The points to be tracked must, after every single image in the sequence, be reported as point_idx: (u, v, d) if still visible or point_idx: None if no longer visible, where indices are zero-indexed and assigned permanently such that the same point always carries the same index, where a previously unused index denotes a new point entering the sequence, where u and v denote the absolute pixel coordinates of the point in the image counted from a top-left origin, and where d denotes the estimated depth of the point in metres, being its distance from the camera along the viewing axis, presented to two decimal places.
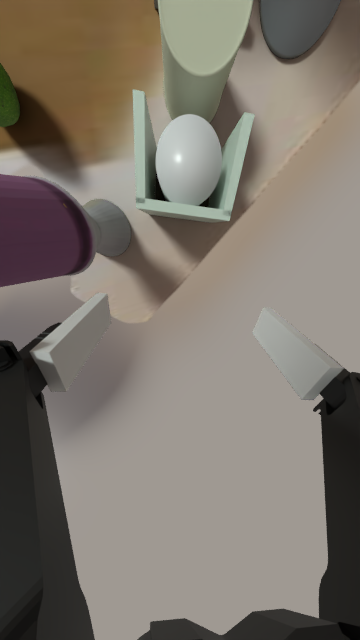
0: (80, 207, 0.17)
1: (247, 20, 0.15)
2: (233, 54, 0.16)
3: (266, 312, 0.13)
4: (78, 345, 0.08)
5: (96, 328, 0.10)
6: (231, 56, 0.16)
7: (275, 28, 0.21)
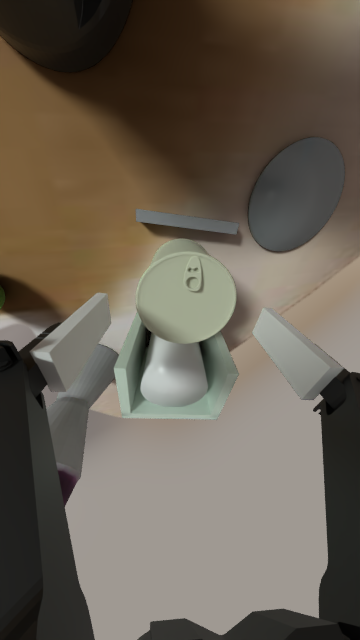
0: (62, 466, 0.17)
1: (229, 316, 0.15)
2: (216, 332, 0.16)
3: (266, 312, 0.13)
4: (78, 345, 0.08)
5: (96, 328, 0.10)
6: (214, 333, 0.16)
7: (264, 234, 0.21)
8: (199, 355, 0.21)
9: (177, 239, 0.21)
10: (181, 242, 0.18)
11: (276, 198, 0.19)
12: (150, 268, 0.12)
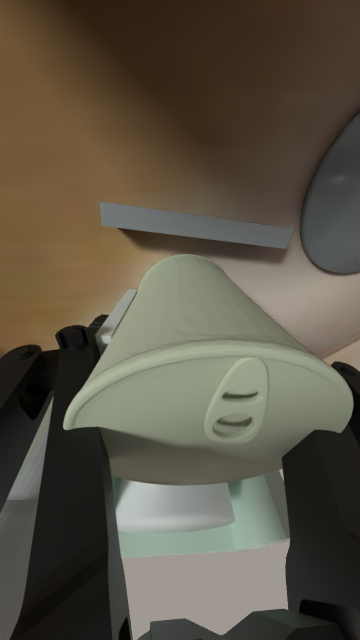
0: None
1: None
2: (269, 472, 0.07)
3: None
4: None
5: None
6: (263, 474, 0.07)
7: (325, 247, 0.12)
8: None
9: (179, 255, 0.12)
10: (187, 264, 0.10)
11: (359, 184, 0.10)
12: (91, 391, 0.03)
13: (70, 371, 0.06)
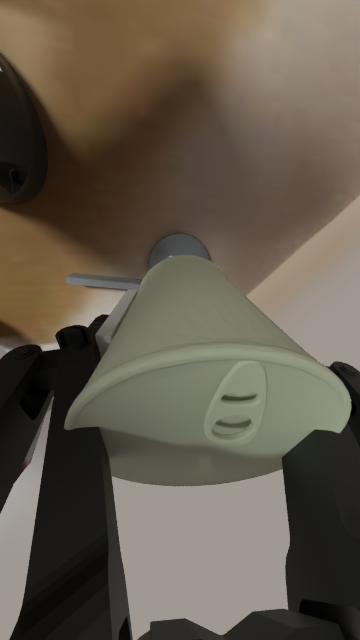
0: None
1: None
2: (268, 473, 0.07)
3: None
4: None
5: None
6: (263, 474, 0.07)
7: None
8: None
9: (179, 257, 0.12)
10: (187, 266, 0.10)
11: None
12: (92, 393, 0.03)
13: (70, 371, 0.06)
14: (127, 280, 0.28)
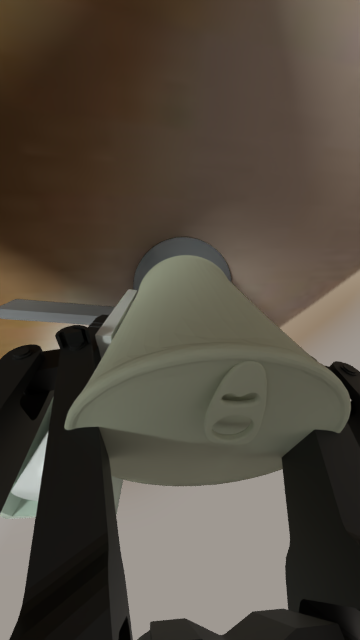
0: None
1: None
2: (268, 473, 0.07)
3: None
4: None
5: None
6: (262, 474, 0.07)
7: None
8: None
9: (179, 257, 0.12)
10: (187, 266, 0.10)
11: None
12: (92, 393, 0.03)
13: (70, 371, 0.06)
14: (100, 310, 0.18)
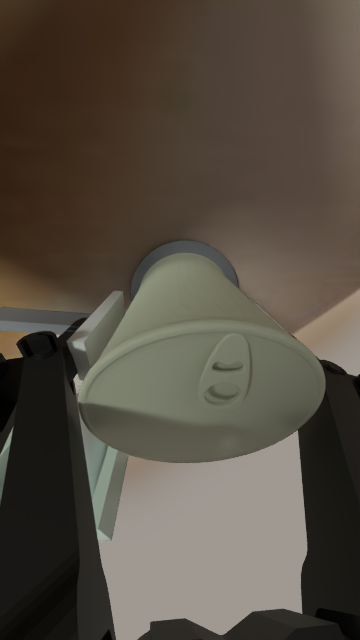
0: None
1: (293, 431, 0.07)
2: None
3: None
4: (102, 338, 0.09)
5: (115, 323, 0.11)
6: (254, 451, 0.08)
7: None
8: None
9: (178, 254, 0.13)
10: (186, 262, 0.10)
11: None
12: (104, 362, 0.04)
13: (36, 382, 0.05)
14: None
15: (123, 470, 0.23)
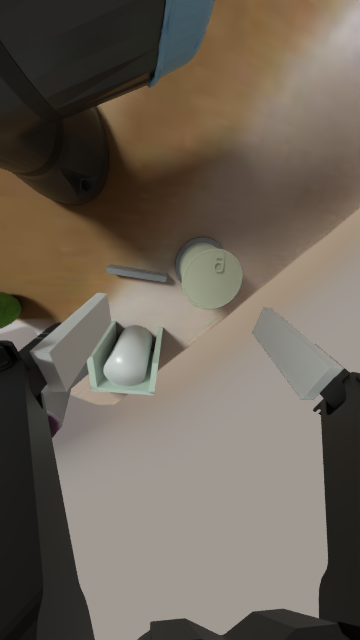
0: (51, 414, 0.29)
1: (237, 291, 0.24)
2: (228, 302, 0.24)
3: (266, 312, 0.13)
4: (78, 345, 0.08)
5: (96, 328, 0.10)
6: (227, 302, 0.25)
7: None
8: (144, 353, 0.34)
9: (201, 243, 0.30)
10: (206, 245, 0.27)
11: None
12: (195, 257, 0.21)
13: None
14: (156, 273, 0.33)
15: None
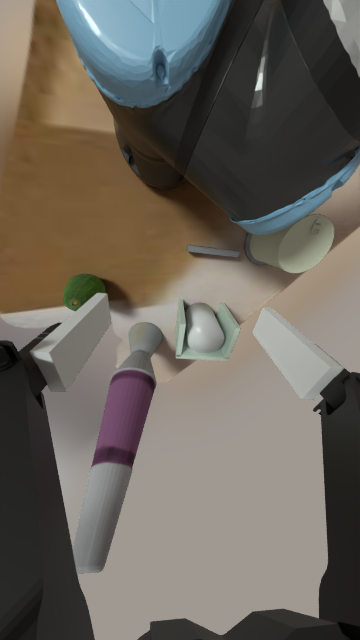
0: (151, 375, 0.34)
1: (325, 254, 0.27)
2: None
3: (266, 312, 0.13)
4: (78, 345, 0.08)
5: (96, 328, 0.10)
6: (313, 265, 0.28)
7: None
8: (218, 323, 0.38)
9: None
10: None
11: None
12: (296, 223, 0.24)
13: None
14: (229, 250, 0.36)
15: None
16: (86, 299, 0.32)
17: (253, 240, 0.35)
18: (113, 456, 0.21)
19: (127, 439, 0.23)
